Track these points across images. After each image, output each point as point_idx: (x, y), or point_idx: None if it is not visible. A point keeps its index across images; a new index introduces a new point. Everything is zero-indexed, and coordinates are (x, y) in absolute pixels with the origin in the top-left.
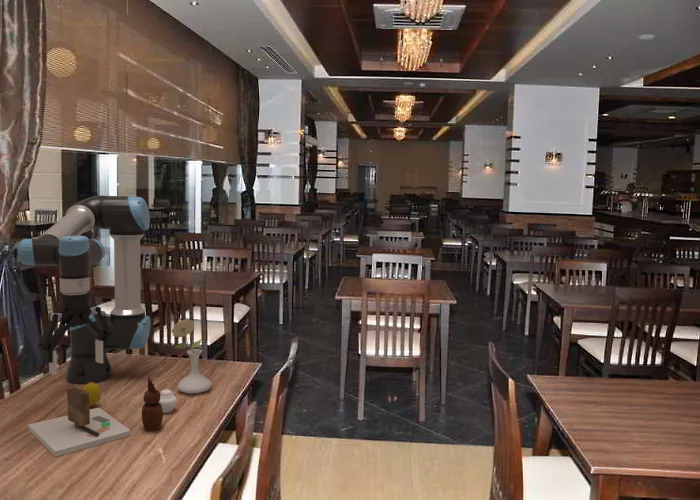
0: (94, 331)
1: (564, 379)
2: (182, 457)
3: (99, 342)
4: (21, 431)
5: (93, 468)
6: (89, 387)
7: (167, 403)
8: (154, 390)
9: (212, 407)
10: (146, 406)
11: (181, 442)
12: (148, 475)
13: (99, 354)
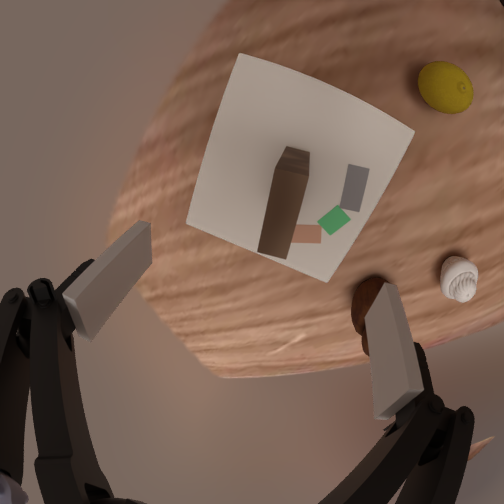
0: (346, 479)
1: (485, 442)
2: (291, 363)
3: (379, 405)
4: (228, 50)
5: (203, 294)
6: (444, 93)
7: (442, 292)
8: None
9: (468, 318)
10: (362, 325)
11: (332, 347)
12: (232, 353)
13: (374, 342)
